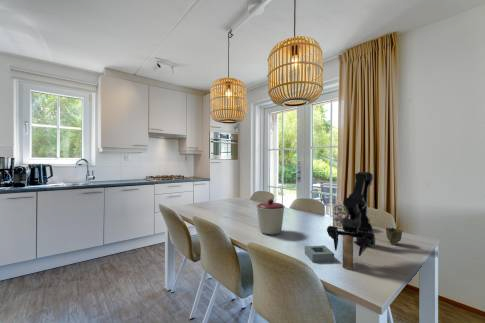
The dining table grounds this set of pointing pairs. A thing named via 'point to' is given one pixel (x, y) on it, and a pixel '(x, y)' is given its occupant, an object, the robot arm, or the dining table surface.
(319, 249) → the socket block
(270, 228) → the canister
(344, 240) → the walnut dowel
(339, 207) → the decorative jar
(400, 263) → the dining table surface
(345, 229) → the robot arm
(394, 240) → the cup
